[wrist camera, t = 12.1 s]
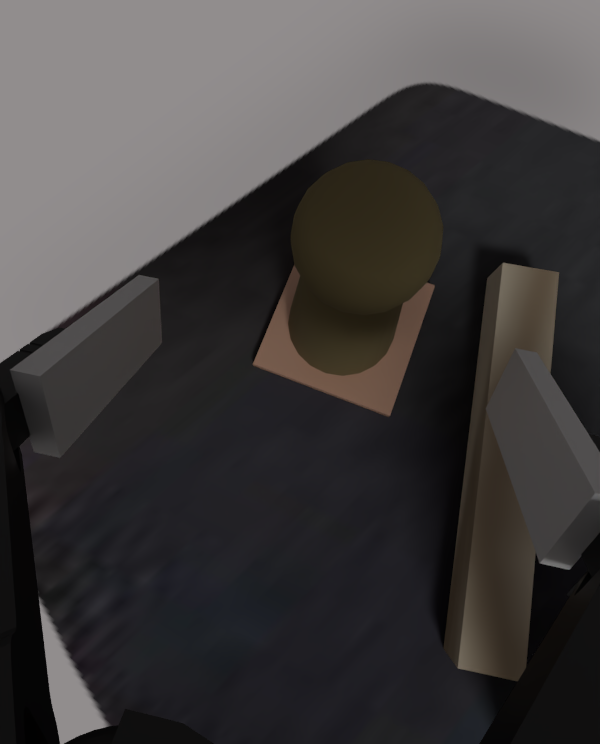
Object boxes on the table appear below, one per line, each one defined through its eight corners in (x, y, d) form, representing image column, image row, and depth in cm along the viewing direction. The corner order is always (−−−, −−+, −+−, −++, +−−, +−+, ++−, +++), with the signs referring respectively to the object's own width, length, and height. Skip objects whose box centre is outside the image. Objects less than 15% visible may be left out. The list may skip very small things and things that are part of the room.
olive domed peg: (328, 254, 25) (347, 95, 14) (416, 311, 24) (507, 190, 13) (266, 335, 24) (236, 231, 13) (355, 397, 23) (401, 342, 12)
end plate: (432, 289, 25) (435, 285, 24) (388, 416, 23) (390, 415, 23) (304, 244, 25) (304, 239, 25) (254, 365, 24) (253, 364, 23)
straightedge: (538, 287, 25) (559, 272, 23) (504, 661, 21) (524, 683, 19) (487, 278, 25) (502, 262, 23) (443, 648, 21) (457, 668, 19)
